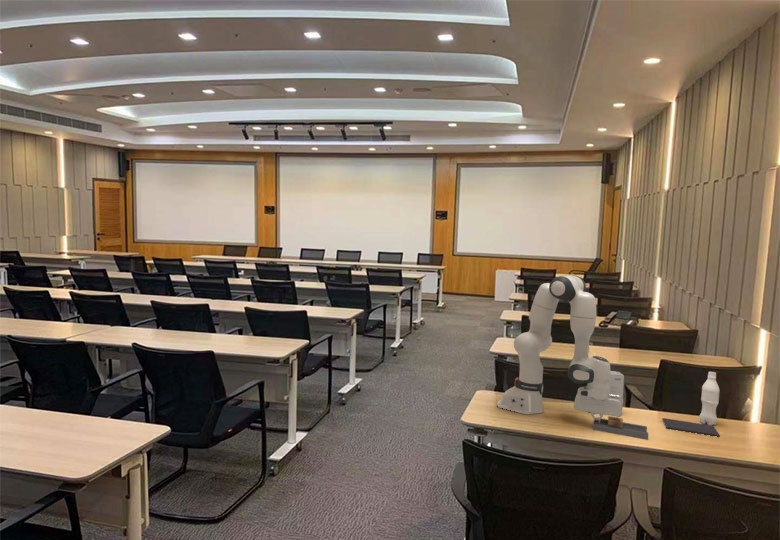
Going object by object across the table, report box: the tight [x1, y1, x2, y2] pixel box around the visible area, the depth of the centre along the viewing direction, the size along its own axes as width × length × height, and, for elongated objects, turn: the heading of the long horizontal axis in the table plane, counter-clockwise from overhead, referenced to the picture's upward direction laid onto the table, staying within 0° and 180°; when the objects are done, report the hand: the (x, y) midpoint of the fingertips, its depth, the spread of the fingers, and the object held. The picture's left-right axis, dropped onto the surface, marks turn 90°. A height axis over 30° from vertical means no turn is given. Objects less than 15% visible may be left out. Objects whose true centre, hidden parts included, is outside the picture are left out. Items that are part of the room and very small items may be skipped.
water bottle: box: [699, 371, 721, 426], centre depth 238 cm, size 7×7×25 cm
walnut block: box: [607, 415, 624, 428], centre depth 225 cm, size 6×6×5 cm
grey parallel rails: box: [592, 416, 649, 441], centre depth 224 cm, size 22×10×2 cm, turn 66°
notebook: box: [662, 417, 721, 438], centre depth 232 cm, size 13×2×21 cm
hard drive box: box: [586, 370, 625, 414], centre depth 248 cm, size 16×8×20 cm, turn 84°
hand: (596, 422), depth 228 cm, fingers closed
